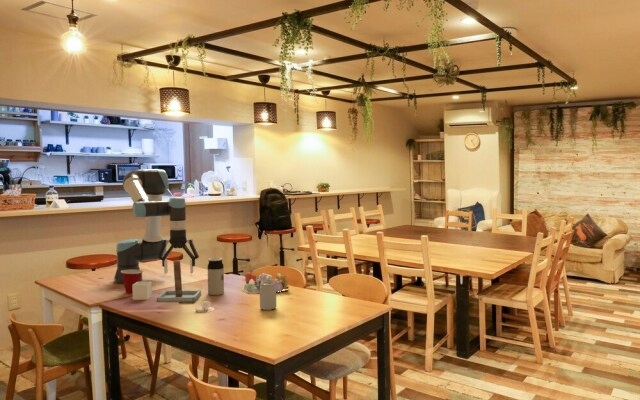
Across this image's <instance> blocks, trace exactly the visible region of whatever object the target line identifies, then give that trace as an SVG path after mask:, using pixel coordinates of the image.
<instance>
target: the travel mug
mask: <svg viewBox="0 0 640 400" xmlns="http://www.w3.org/2000/svg"><path fill="white" fill-rule="evenodd" d="M207 261H208V264H207V294H208V295H211V296H220V295H224V293H225V280H224V279H225V278H224V276H225V274H224V271H225V270H224V269H225V268H224V267H225V266H224V263H223V261H224V258H222V257H210V258H208V259H207Z"/></svg>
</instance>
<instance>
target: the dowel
mask: <svg viewBox="0 0 640 400" xmlns="http://www.w3.org/2000/svg"><path fill="white" fill-rule="evenodd" d="M172 264H173V276H174V291H175V296H176V297H182V290H183V288H182V287H183V286H182V285H183V284H182V268H181V266H182V265H181V259H179V260H173V263H172Z"/></svg>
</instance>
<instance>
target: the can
mask: <svg viewBox="0 0 640 400" xmlns="http://www.w3.org/2000/svg"><path fill="white" fill-rule="evenodd" d="M259 308H260V309H261V310H262V309H263V310H262V311H265V310H270V311H272V310H271V309H274V308H275V309H276V308H277V293H276V285H275V283H274V282H263V283H261V286H260V293H259ZM275 309H274V310H275Z"/></svg>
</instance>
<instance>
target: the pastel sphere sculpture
mask: <svg viewBox="0 0 640 400" xmlns="http://www.w3.org/2000/svg"><path fill="white" fill-rule="evenodd" d="M244 279H245V284H244V286H243V287H242V288H241V291H242V290H243V291H244V292H243V291H242V292H243V293H245V292H247V293H246V294H249V293H256V294H260V286H261V283H263V282H274V283H275V285H276V292H278V291H279V292H280V291H282V290H283V289H288V288H287V286H289V285H288V284H289V279H287V276H286V275H285V274H283V275H282V273H280V272H277V273H276V274H275V278H273V275H270V274H269V273H264V272H263V273H261V274H259V275H258V277H257V276H256V274H253V273H252V272H249V271H247V272H246V273H245V275H244ZM251 280H252V281H253V282H250V281H251Z"/></svg>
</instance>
